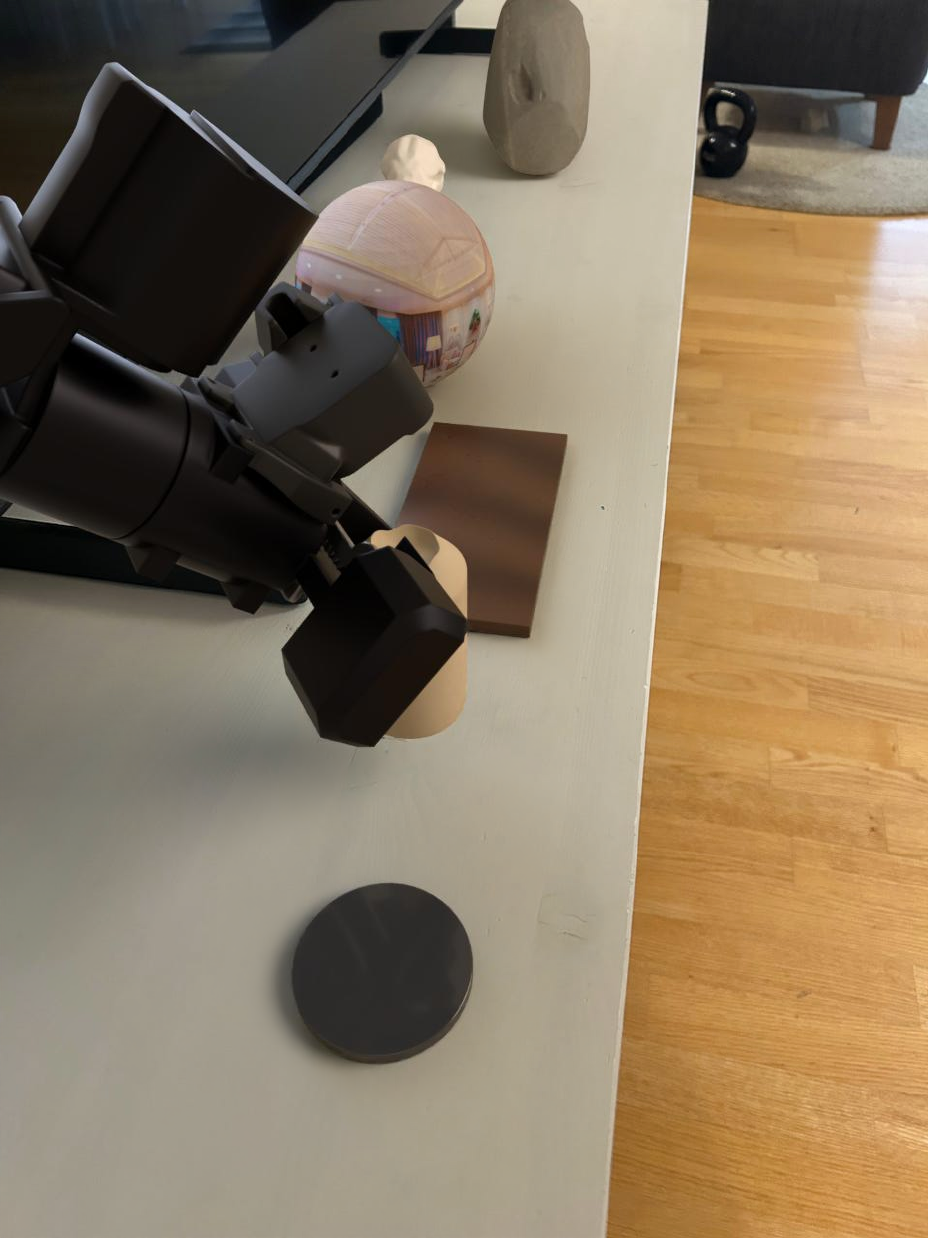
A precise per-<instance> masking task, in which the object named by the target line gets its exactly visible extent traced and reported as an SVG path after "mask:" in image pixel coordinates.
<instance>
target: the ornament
mask: <svg viewBox="0 0 928 1238" xmlns="http://www.w3.org/2000/svg"><path fill="white" fill-rule="evenodd" d="M318 215H319V218H318V220H317V221H316V223H315V224H314V226H313V227H312V228H311V230H310V231H309V233H308V234H307V236H306V237H305V238H304V240H303V241H302V243H301V245H300V249H299V251H298V256H297V261H296V267H295V273H294V287H296V288H298V289H300V290H302V291H304V292H306V293H308V294H310V295H312V296H314V297H316V298H317V299H319V300H320V301H321V303H322V304H323V305H326V306H329V307H332V306H331V304H330V302H329V301H328V299H327V298H328V297H329V296H331V295H332V294H333V293H337V294H338V295H339V296H340V297H341V298H342V300H343V301H344V302H346V301H357V302H359V303H361V304H362V305H363V306H364V307H365V308H366V309H367V310H368V311H369V312H370V313H371V314H372V315H373V316H374V317H375V318H376V319H377V320H378V321H379V322H380V323H381V324H382V325H383V326H384V327H385V328H386V329H387V330H388V331H389V332H390V333H391V334H392V335H393V337H394V338H395V339H396V340H397V341H398V343H399V345H400V347H401V348H402V350H403V352H404V353H405V355H406V357H407V359H408V360H409V362H410V364H411V365H412V367H413V369H414V371H415V372H416V374H417V376H418V377H419V379H420V381H421V383H422V384H423V386H424V388H426V387H429V386H433V385H435V384H437V383H439V382H441V381H443V380H444V379H446V378H448V377H449V376H451V375H453V374H455V372H457V371H458V370H459V369H460V368H462V367H463V365H465V363H467V362H468V360H469V359H470V358H471V357H472V356H473V355H474V353H475V352H476V351H477V349H478V348H479V346H480V345H481V342H482V341H483V339H484V337H485V335H486V333H487V330H488V328H489V325H490V323H491V321H492V316H493V312H494V309H495V300H496V299H495V298H496V277H495V270H494V265H493V259H492V256H491V253H490V250H489V247H488V245H487V242H486V240H485V238H484V236H483V235H482V233H481V231H480V229H479V228H478V225H476V223H475V222H474V221H473V219H472V217H470V215H469V214H468V213H467V212H466V211H465V210H464V209H463V208H462V207H461V206H460V205H459V204H457V202H455V201H454V200H453V199H451V198H450V197H448V196H447V195H446V194H444V193H442V192H441V191H440V192H438V191H436V190H434V189H432V188H430V187H428V186H425V185H421V184H418V183H414V182H410V181H403V180H386V179H384V180H376V181H371V182H368V183H365V184H362V185H359V186H357V187H354V188H351V189H349V190H347V191H346V192H344V193H343V194H341V195H339V196H338V197H337V198H335V199H334V200H332V201H331V202H330V203H329V204H328V205H327V206H325V208H324V209H322V210H321V212H320V213H319V214H318Z"/></svg>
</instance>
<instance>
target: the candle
mask: <svg viewBox="0 0 928 1238" xmlns="http://www.w3.org/2000/svg"><path fill="white" fill-rule="evenodd" d="M394 528H395V527H394ZM394 528H392V530H389V531H385V530H378V531H376V532H374V533H373V534H372V535H371V536H370V537H369V538H368V539H367V540H365V542H369V543H371V544H373V545H375V546H376V547H377V548H378V549H379V548H382V547H385V546H388V545H389V546H391V547H393V548H395V547H396V546H397V544H398V543H399V542H400V541H401V539H402V538H403V537H404V536H406V537H407V539H408V540H409V541H410V542H411V544H412V545H413V546H414V548H415V549H416V550H417V552H418V553H419V554H420V556H421V557H422V558H423V559H424V561H425V562H426V563H427V565H428V566H429V567H430V569H431V570H432V571H433V573H434V575H435V577H436V579H437V581H438V582H439V583H440V585H441V586H442V587H443V589H444V590H445V591H446V592H447V594H448V595H449V596H450V598H451V599H452V600H453V602H454V603H455V604H456V606H457V607H458V608H459V610H460V611H461V612H462V613H463V615H464V616H465V617H466V619H467V565H466V562H465V559H464V557H463V555H462V554H461V552H460V551H459V550H458V549H457V548H456V547H455V546H454V545H453V544H451V543H450V542H448V541H447V540H445V539H443V538H441V537H440V536H438V535H436V534H434V533H433V532H432V531H430V530H428V529H425V528H422V527H419V526H415V525H409V524H405V525H401V526H399V527H398V528H395V529H394ZM467 686H468V632H467V633H466V635H465V639H464V642H463V644H462V645H461V646H460V647H459V648H458V649H457V651H456V652H455V653H454V654H453V655H452V656H451V658H450V659H449V660H448V661H447V662H446V663H445V665H444V666H443V667H442V668H441V669H440V670H439V672H438V673H437V674H436V675H435V676H434V677H433V679H432V680H431V681H430V682H429V683H428V685H427V686H426V687H425V688H424V689H423V690H422V692H421V693H420V694H419V695H418V696H417V697H416V699H415V700H414V701H413V702H412V703H411V704H410V706H409V707H408V708H407V709H406V710H405V711H404V713H403V714H402V715H401V716H400V717H399V718H398V720H397V721H396V722H395V723H394V724H393V725H392V727H391V728H390V729H389V730H388V731H387V732H386V734H385V735H386V736H388V737H392V738H396V739H403V740H416V739H417V740H418V739H423V738H428V737H432V736H434V735H437V734H440V733H441V732H444V731H446V729H448V728H449V727H450V726H452V725H453V724H454V723H455V722H456V721H457V719H458V718H459V717H460V715H461V714H462V713H463V710H464V707H465V704H466V700H467V691H468V690H467V688H468V687H467ZM385 735H384V736H385Z"/></svg>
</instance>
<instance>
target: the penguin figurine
mask: <svg viewBox="0 0 928 1238" xmlns="http://www.w3.org/2000/svg"><path fill="white" fill-rule="evenodd" d="M379 168H380V171H381V174H382V176H383V177H384V180H403V181H410V182H414V183H418V184H421V185H425V186H428V187H430V188H432V189H434V190H436V191H438V192H440V193H441V191H442V189H443V188H444V187H443V186H444V179H445V178H444V177H445V173H446V165H445V162H444V161H443V160H442V158H441V157H440V154H439V151H438V149H437V146H436V145H435V144H434V143H433V142H432V141H430V140H428V139H427V138H423V137H422V136H419V135H417V134H414V133H413V134H411V133H410V134H406V135H402V136H401V137H399V138H396V139H394V140H393V141H392V142H391V143H390V144H389V145H388V146H387V149H386V152H385V154H384V156H383V158H382V159H381V161H380V165H379Z"/></svg>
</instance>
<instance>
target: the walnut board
mask: <svg viewBox="0 0 928 1238" xmlns="http://www.w3.org/2000/svg"><path fill="white" fill-rule="evenodd" d="M568 438H569V437H568V434H567V433H557V432H549V431H536V430H526V429H517V428H515V429H514V428H506V427H505V428H504V427H495V426H494V427H493V426H483V425H475V424H473V425H472V424H463V423H451V422H441V421H433V422H432V425H431V427H430V431H429V434H428V436H427V438H426V441H425V444H424V447H423V450H422V452H421V455H420V458H419V460H418V463H417V466H416V469H415V471H414V474H413V476H412V480H411V481H410V485H409V487H408V490H407V493H406V496H405V499H404V501H403V504H402V506H401V510H400V513H399V515H398V518H397V520H396V523H395V526H394V528H393V529H395V528H398V527H399V526H401V525H405V524H409V525H415V526H419V527H422V528H425V529H428V530H430V531H432V532H433V533H434V534H436V535H438V536H440V537H441V538H443V539H445V540H447V541H448V542H450V543H451V544H453V545H454V546H455V547H456V548H457V549H458V550H459V551H460V552H461V554H462V555H463V557H464V559H465V562H466V565H467V621H468V622H469V623H470V625H471V628H470V630H469V632H479V633H486V634H493V635H494V634H495V635H503V636H511V637H519V638H526V639H527V638H528V639H529V638H530V637H531V633H532V628H533V624H534V618H535V614H536V613H535V612H536V606H537V602H538V597H539V591H540V586H541V581H542V576H543V571H544V566H545V561H546V556H547V551H548V547H549V546H548V545H549V541H550V535H551V530H552V524H553V519H554V514H555V510H556V509H555V508H556V505H557V499H558V495H559V488H560V483H561V479H562V472H563V467H564V462H565V457H566V451H567V446H568Z"/></svg>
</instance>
